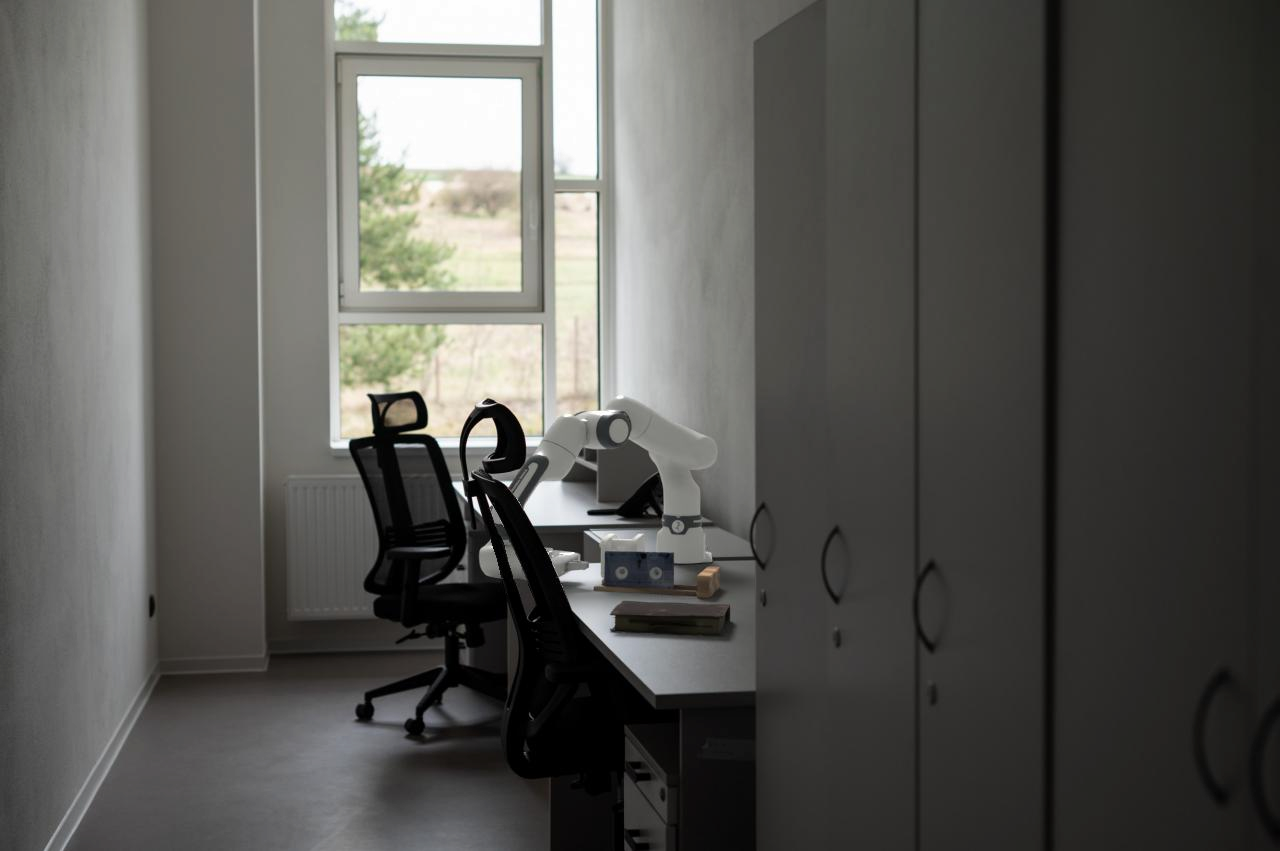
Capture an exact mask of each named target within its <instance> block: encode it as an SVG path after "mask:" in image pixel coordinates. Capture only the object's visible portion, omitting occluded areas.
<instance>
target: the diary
mask: <svg viewBox="0 0 1280 851" xmlns="http://www.w3.org/2000/svg"><path fill="white" fill-rule="evenodd" d="M609 616H614V617H613V619H614V627H612V628H609V631H611V632H613V633H622V632H625V634H627V633H628V634H644V633H654V634H653V635H669V634H670V635H671V636H699V635H702V637H715V638H716V637H719V638H720V637H722V638H724V635H725V634H726V631H727V629H726V628H724V626H725V624H726V623H730V622H731V604H723V603H722V604H715V603H714V604H712V603H710V604H708V603H707V604H703V603H702V604H701V603H691V602H690V603H688V602H668V601H667V602H661V601H660V602H657V601H656V602H653V601H652V602H648V601H639V600H638V601H636V600H622V601H620V603H619V604H617V605H616V606H615V607H614V608H613V609H612V610H611V611H610V613H609Z"/></svg>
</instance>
